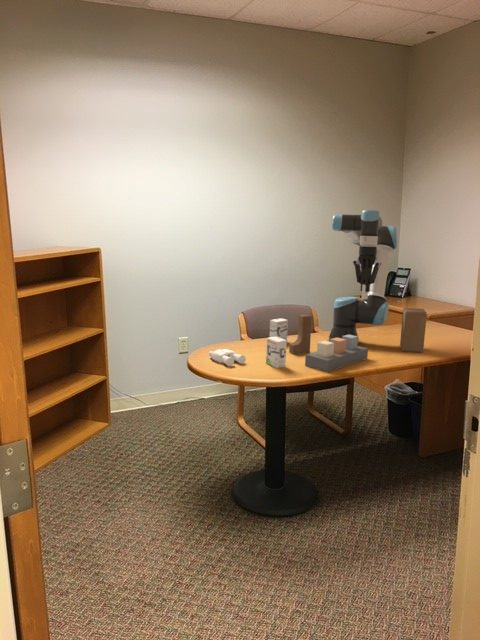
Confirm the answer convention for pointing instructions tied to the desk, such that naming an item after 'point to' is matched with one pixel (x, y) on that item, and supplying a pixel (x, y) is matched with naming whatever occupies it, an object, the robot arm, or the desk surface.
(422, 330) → the wooden block
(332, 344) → the cream plunger
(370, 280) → the robot arm
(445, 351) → the desk surface
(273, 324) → the ink box
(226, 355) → the binoculars
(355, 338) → the slate-blue plunger
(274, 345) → the ink box
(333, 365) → the gray slotted tray
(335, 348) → the salmon pink block
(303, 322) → the wooden block
